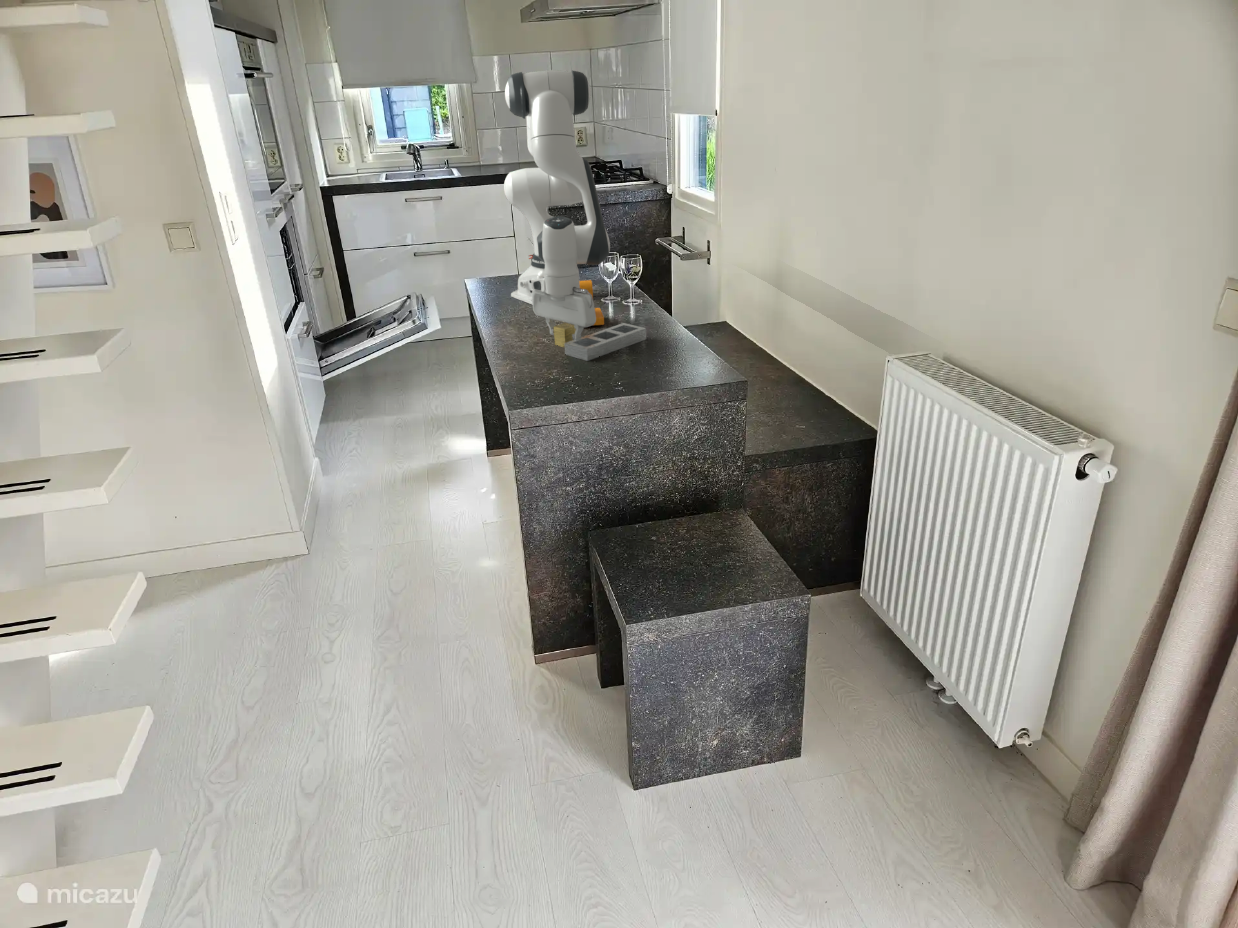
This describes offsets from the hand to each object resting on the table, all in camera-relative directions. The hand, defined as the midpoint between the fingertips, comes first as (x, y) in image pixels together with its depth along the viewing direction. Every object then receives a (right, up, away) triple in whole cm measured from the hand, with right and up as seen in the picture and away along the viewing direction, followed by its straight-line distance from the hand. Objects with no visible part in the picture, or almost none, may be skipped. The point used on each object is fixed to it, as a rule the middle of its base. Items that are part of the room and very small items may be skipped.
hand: (565, 337), depth 212 cm
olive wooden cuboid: (0, -2, +1) cm, 2 cm away
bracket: (+6, +7, +18) cm, 20 cm away
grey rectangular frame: (+11, -3, -2) cm, 11 cm away
